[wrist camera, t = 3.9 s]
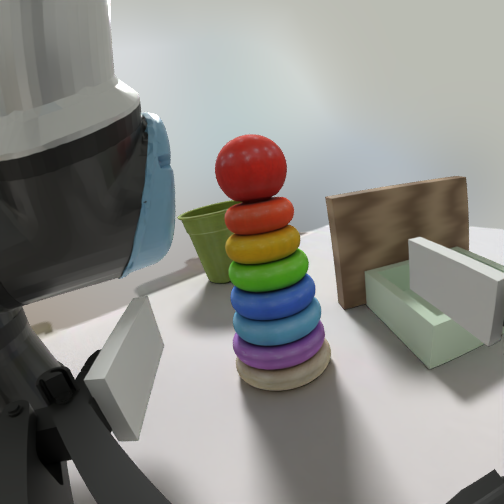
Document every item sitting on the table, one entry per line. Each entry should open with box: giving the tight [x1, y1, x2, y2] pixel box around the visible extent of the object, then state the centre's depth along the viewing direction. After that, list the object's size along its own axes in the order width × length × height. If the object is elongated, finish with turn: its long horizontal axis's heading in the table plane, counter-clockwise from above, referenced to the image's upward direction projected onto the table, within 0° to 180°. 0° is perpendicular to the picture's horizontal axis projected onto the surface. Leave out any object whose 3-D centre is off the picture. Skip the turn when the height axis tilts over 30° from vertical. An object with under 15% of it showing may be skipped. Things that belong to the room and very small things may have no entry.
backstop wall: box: [325, 176, 469, 310], centre depth 33 cm, size 18×2×12 cm, turn 95°
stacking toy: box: [215, 135, 331, 391], centre depth 24 cm, size 8×8×19 cm
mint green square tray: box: [365, 247, 504, 370], centre depth 27 cm, size 13×13×4 cm
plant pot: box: [177, 200, 242, 283], centre depth 51 cm, size 12×12×11 cm
